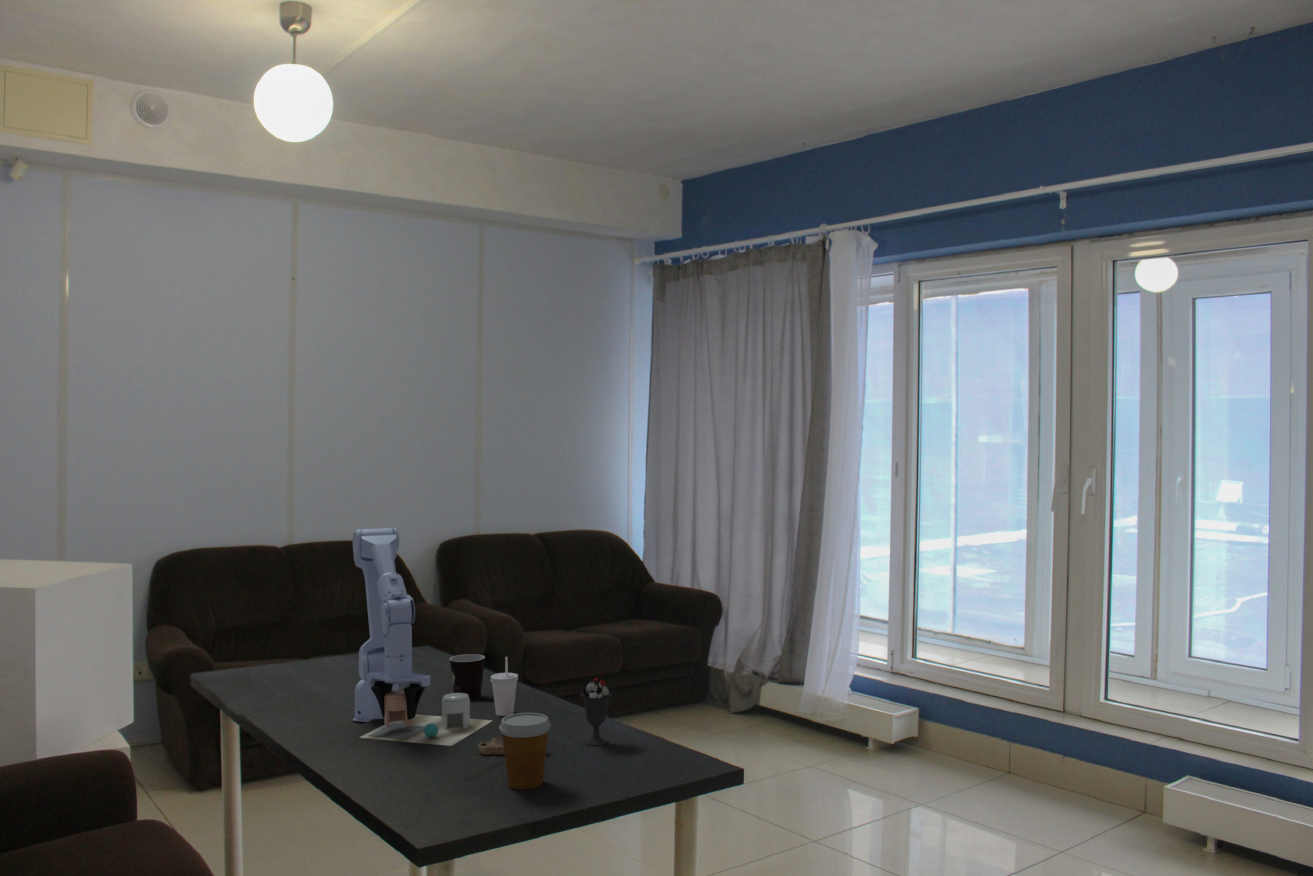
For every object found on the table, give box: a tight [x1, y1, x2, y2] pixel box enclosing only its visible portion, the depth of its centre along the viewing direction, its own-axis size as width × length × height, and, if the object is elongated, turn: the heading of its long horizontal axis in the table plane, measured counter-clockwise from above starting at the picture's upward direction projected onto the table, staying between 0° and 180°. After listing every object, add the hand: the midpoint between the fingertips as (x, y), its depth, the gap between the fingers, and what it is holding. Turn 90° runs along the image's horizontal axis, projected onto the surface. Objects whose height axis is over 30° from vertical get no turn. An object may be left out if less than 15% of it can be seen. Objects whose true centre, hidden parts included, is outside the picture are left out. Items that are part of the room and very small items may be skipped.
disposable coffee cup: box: [498, 712, 552, 790], centre depth 182 cm, size 10×10×12 cm
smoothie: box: [490, 656, 519, 717], centre depth 226 cm, size 6×6×14 cm
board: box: [358, 713, 493, 747], centre depth 214 cm, size 22×19×1 cm
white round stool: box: [441, 692, 471, 729], centre depth 216 cm, size 6×6×7 cm
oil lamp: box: [478, 735, 505, 756], centre depth 199 cm, size 13×8×5 cm, turn 105°
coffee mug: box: [449, 653, 486, 702], centre depth 245 cm, size 12×9×10 cm
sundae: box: [579, 669, 612, 747], centre depth 207 cm, size 7×7×15 cm
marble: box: [424, 723, 438, 738], centre depth 208 cm, size 3×3×3 cm
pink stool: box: [383, 689, 413, 727], centre depth 212 cm, size 6×6×7 cm
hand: (398, 717), depth 212 cm, fingers closed on pink stool, 6 cm apart
